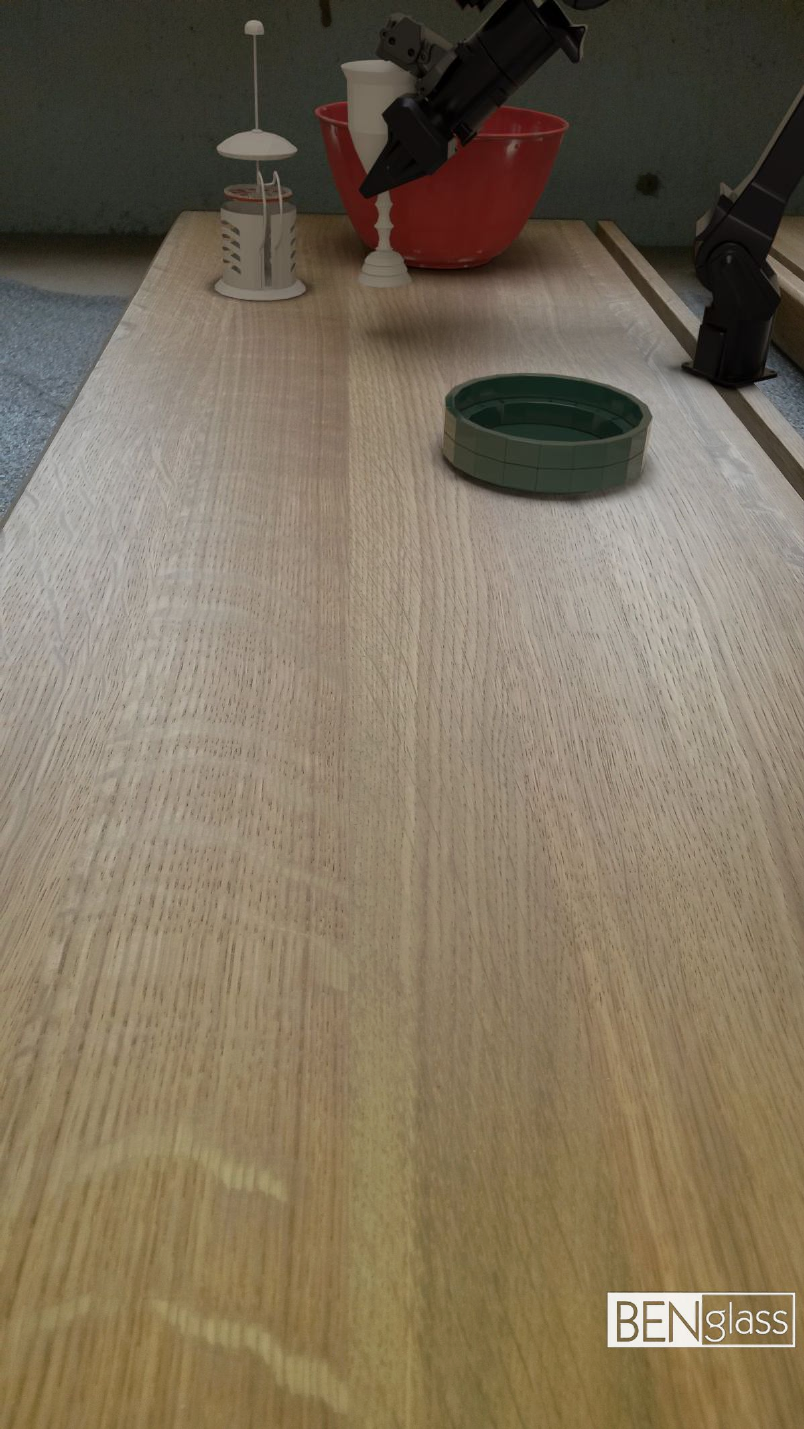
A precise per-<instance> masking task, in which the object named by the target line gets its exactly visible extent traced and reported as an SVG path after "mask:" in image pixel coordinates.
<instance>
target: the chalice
mask: <svg viewBox="0 0 804 1429" xmlns="http://www.w3.org/2000/svg"><path fill="white" fill-rule="evenodd" d="M340 68H341V71H342V72H343V74H344V77H345V78H346V94H347V95H346V96H347V97H346V98H347V101H348V128H349V131H350V134H351V137H352V140H353V144H354V147H355V150H356V152H357V154H358V156H359V158H360V160H361V163H362V165H363V167H364V169H365V171H366V173H367V174H368V173H369V171H370V170H371V168H372V166H373V165H374V163H375V161H376V160H377V158H378V157H379V155H380V153H381V152H382V150H383V148H384V147H385V145H386V143H387V141H388V129H387V124H386V122H385V121H384V119H383V117H382V115H381V114H382V113H383V112H384V111H385V110H386V109H387V108H388V107H389V106H390V105H391V104H392V103H393V101H394V100H395V99H396V98H397V97H399V96H401V95H403V94H405V93H418V94H420V93H419V92H420V91H419V90H418V89H417V87H416V86H415V85H416V84H417V83H418V82H419V81H420V78H418V77H416V76H414V75H412V74H410V71H405V70H404V69H402V68H400V67H399V66H397V65H396V64H394V63H392V62H391V61H384V60H382V59H369V60H368V59H367V60H366V59H365V60H355V61H349V62H345V63H342V64H341V65H340ZM375 205H376V207H377V209H378V213H379V218H378V222H377V223H376V224H375V225H374V226H375V228H376V229H377V230H378V234H379V243H378V247H377V248H375V249H376V251H375V250H374V251H372V252H369V254H368V255H367V256H366V258H365V259H364V263H363V265H362V267H361V272H360V274H359V276H358V278H357V281H358V283H359V284H361V285H364V286H367V287H371V288H372V287H374V288H384V289H385V288H397V287H402V286H405V285H407V284H409V283H411V281H412V278H411V276H410V275H409V272H408V267H407V265H405V264H404V259H403V258H402V256H401V255H400V254H399V253H398V252H395V251H392V250H393V248H392V247H391V246H390V241H389V236H390V231H391V229H392V228H393V227H394V225H393V224H392V223H391V221H390V218H389V213H390V209H391V207H392V205H393V204H392V202H391V200H390V195H389V190H388V191H386V192H384V193H381V194H379V195H378V199H377V202H376V203H375Z"/></svg>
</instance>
